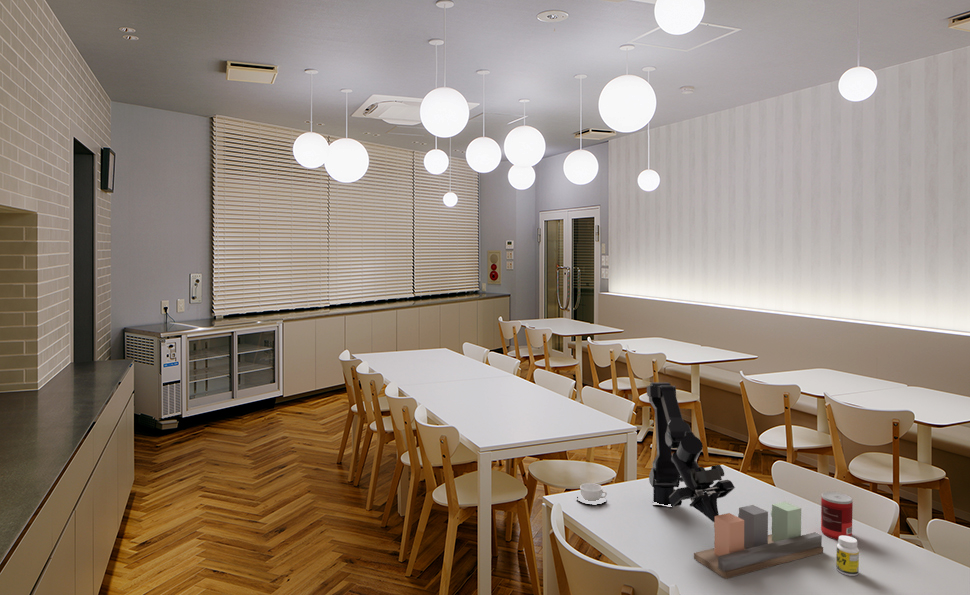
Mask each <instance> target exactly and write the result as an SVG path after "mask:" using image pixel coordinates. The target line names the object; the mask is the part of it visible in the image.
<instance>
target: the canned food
mask: <svg viewBox="0 0 970 595" xmlns="http://www.w3.org/2000/svg"><path fill="white" fill-rule="evenodd" d="M853 502H854V501H853V498H852V497H851V496H850V495H847V494H845V493H842V492H838V491H837V492H836V491H824V492H822V493H821V500H820V505H821V506H820V508H821V510H820V512H821V514H820V517H821V518H820V530H821V532H822V534H823V535H824V536H826V537H828V538H830V539H834V540H837V541H838V540H839V536H842V535H844V536H850V537H853V508H854V507H853Z"/></svg>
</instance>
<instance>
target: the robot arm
mask: <svg viewBox="0 0 970 595" xmlns="http://www.w3.org/2000/svg"><path fill="white" fill-rule="evenodd" d="M646 396H647V397H648V402H649V403H650V405H651V406H652V408H653V409H654V410H653V411H654V422H655V424H654V425H655V439H656V440H655V441H656V456H655V458H654V460H653V461H652V467H651V468H650V469H651V470H650V472H649V475H648V480H649V482H648V483H650V485H651V487H652V489H653V493H652V494H653V497H652V498H653V501H654V502H657V503H659V504H664V505H668V504H671V506H672V507H674V508H676V507H680V506H682V503H683V500H690V504H689V507H693V508H694V509H696V510H697V511H698V512H700V513H702V514H703V515H704V516H705V517H706V518H708V519H709V520H710V521H711V522H712V523H714V522H715V516H718V515H720V513H719V508H718V499H721V498H722V499H723V498H724V497H726V496H727V495H729V494H730V493H731V492H732V491H733V490H734V489H735V488H736V487H735V485H734V484H733V482H732V481H731V480H729V479H722V477H725V472H724V471H725V470H724V469H723V467H722V466H721V464H715V465H711V469H706V468H705V467H703V466H699V464H698V461H697V460H698V458H699V456H700V454H701V452H702V450H703V448H704V447H703V446H704V445H703V442H702V441H701V440H700V439H701V438H699V437H697V436H696V435H695V434H694V432H693V431H692V428H691V427H690V424H689V423H687V422H686V421H685V420H684V419H683V416H682V412H681V409H680V405H679V402H678V399H677V398H678V397H677V388H676V385H671V383H670V382H660V381H659V382H650V383H649V385H647V386H646ZM672 449H676V450H675V451H674V452H672ZM715 481H717V482H715ZM682 482H683V483H684V485H685V486H684V487H680V483H682ZM714 482H715V483H714ZM675 488H676V489H675ZM653 501H652V502H653Z"/></svg>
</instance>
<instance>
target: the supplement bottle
mask: <svg viewBox="0 0 970 595" xmlns="http://www.w3.org/2000/svg"><path fill="white" fill-rule="evenodd" d="M837 541H838V543H837V545H836V556H835V558H836V564H835V566H836V570H837V571H838V573H840V574H843V575H845V576H848V577H854V576H855V577H856V576H858V575H859V572H860V571H859V564H860V562H859V560H860V559H859V558H860V550H859V548H858V540H857V539H856V538H854V537H853V536H851V537H850V536H844V535H842V536H839V540H838V539H837Z"/></svg>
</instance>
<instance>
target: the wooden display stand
mask: <svg viewBox="0 0 970 595" xmlns="http://www.w3.org/2000/svg"><path fill="white" fill-rule="evenodd" d="M822 537H823V536H822V534H820V533H818V532H809V533H805V534H801V536H798V537H794V538H789V539H785V540H781V541H777V542H774V541H772V533H771V534H768V544H765V545H761V546H757V547H753V548H749V549H747V548H745V547H744V550H741V551H737V552H733V553H729V554H725V555H721V556H718V555H716V554H714V548H709V549H705V550H699V551H696V552H693V559H694V560H695V559H696V560H695V561H697V562H698V563H700V564H702V565H703V566H704V567H706V568H708V569H710V570H711V571H713V572H714V573H716V574H718V575H719V576H721V577H722V578H724V579H725V580H726V579H729V578H733V577H737V576H741V575H744V574H748V573H752V572H755V571H759V570H763V569H767V568H772V567H774V566H778V565H781V564H784V563H785V564H786V563H789V562H794V561H796V560H800V559H803V558H808V557H811V556H816V555H819V554H822V553H824V547H823V545H822V542H823V541H822Z"/></svg>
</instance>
